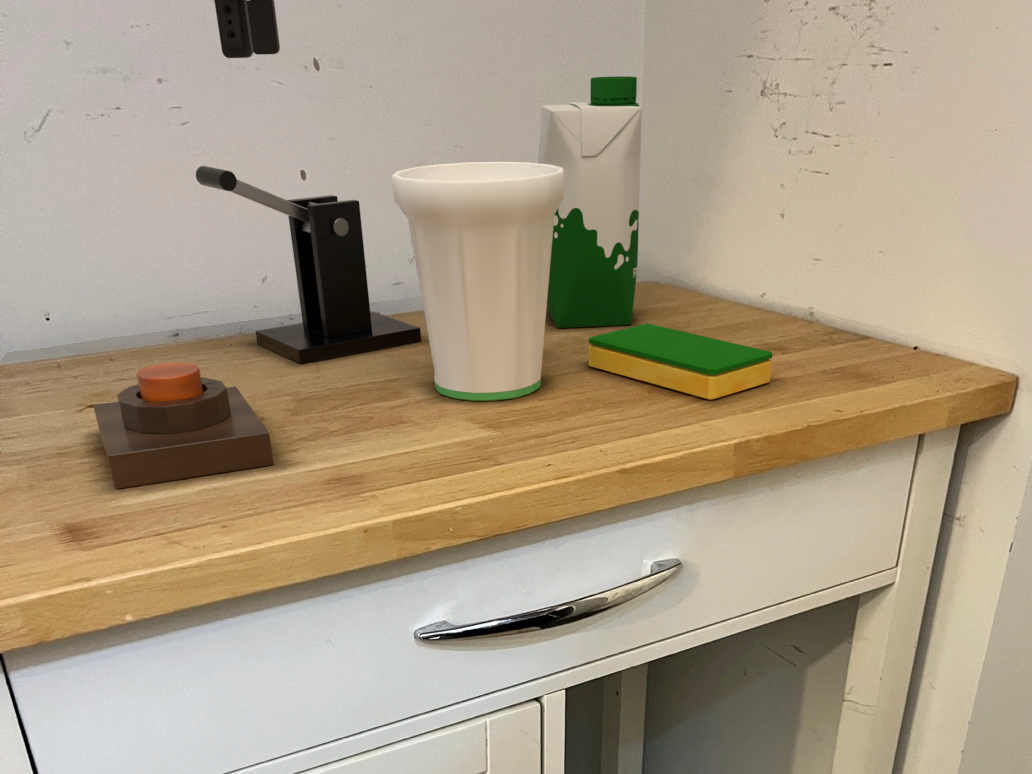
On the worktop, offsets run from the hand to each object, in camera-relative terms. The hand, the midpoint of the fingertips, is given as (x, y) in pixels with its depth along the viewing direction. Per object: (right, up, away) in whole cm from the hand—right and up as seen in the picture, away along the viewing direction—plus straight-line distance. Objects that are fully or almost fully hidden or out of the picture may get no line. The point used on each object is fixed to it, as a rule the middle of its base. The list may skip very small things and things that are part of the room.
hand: (253, 56), depth 86 cm
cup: (+18, -26, +1) cm, 32 cm away
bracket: (+4, -18, +13) cm, 23 cm away
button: (-2, -31, -13) cm, 33 cm away
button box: (-2, -34, -11) cm, 35 cm away
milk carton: (+27, -14, +19) cm, 36 cm away
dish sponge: (+34, -25, +2) cm, 42 cm away
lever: (0, -10, +5) cm, 12 cm away
